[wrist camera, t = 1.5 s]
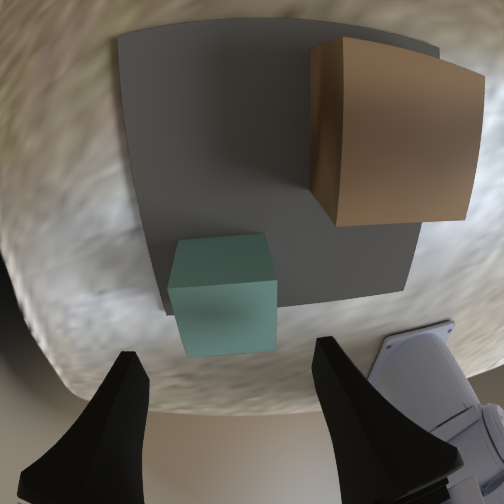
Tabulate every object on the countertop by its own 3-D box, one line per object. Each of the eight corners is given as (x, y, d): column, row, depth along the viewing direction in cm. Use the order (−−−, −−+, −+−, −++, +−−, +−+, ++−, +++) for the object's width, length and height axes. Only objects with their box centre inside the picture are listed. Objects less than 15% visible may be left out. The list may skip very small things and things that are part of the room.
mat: (400, 287, 19) (403, 290, 19) (167, 311, 18) (166, 315, 18) (435, 47, 11) (439, 47, 10) (120, 37, 10) (117, 36, 9)
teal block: (266, 299, 18) (275, 350, 14) (191, 305, 18) (187, 356, 14) (264, 233, 15) (277, 279, 12) (178, 240, 15) (167, 288, 12)
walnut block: (422, 189, 15) (464, 220, 11) (309, 190, 14) (336, 226, 11) (433, 70, 11) (484, 76, 8) (309, 48, 11) (342, 36, 7)
